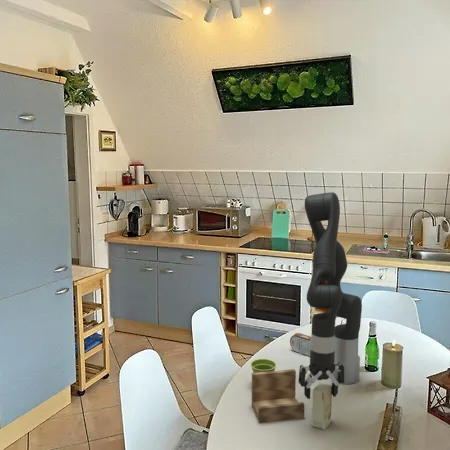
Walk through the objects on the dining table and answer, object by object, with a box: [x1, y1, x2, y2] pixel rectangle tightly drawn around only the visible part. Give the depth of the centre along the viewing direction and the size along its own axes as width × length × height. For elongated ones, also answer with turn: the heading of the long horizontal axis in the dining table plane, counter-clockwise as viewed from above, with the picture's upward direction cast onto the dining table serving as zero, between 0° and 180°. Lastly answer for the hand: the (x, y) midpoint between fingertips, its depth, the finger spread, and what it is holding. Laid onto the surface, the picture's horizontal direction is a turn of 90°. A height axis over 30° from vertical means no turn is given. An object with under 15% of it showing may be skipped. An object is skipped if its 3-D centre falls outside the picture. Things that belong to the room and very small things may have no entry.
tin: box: [289, 332, 311, 358], centre depth 199 cm, size 15×3×8 cm, turn 47°
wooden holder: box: [251, 368, 305, 424], centre depth 153 cm, size 15×10×12 cm
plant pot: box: [250, 358, 277, 373], centre depth 171 cm, size 9×9×9 cm
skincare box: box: [311, 382, 333, 430], centre depth 146 cm, size 6×4×12 cm
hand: (320, 396), depth 146 cm, fingers open, 8 cm apart
